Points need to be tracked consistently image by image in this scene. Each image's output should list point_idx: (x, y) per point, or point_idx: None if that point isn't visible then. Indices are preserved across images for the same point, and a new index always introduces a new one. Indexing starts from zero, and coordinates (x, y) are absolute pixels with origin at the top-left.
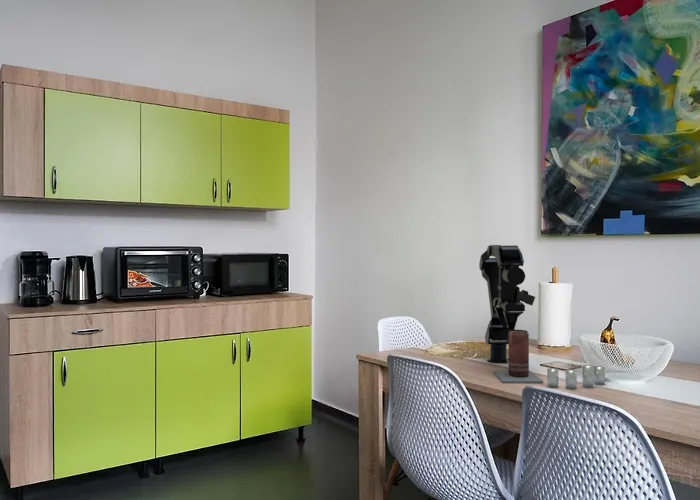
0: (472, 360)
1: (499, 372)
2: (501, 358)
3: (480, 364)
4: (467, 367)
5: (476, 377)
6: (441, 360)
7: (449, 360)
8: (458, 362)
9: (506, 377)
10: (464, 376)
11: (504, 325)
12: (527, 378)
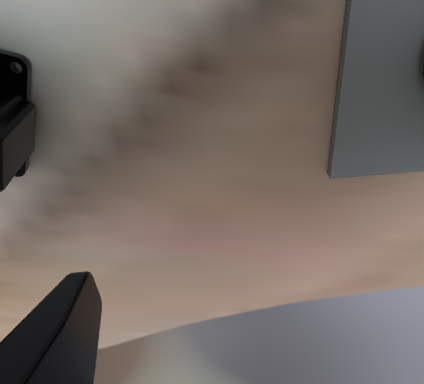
0: (12, 242)
1: (379, 150)
2: (16, 103)
3: (114, 213)
4: (202, 269)
5: (417, 247)
6: None
7: None
8: None
9: None
10: (388, 285)
11: (86, 331)
12: None
